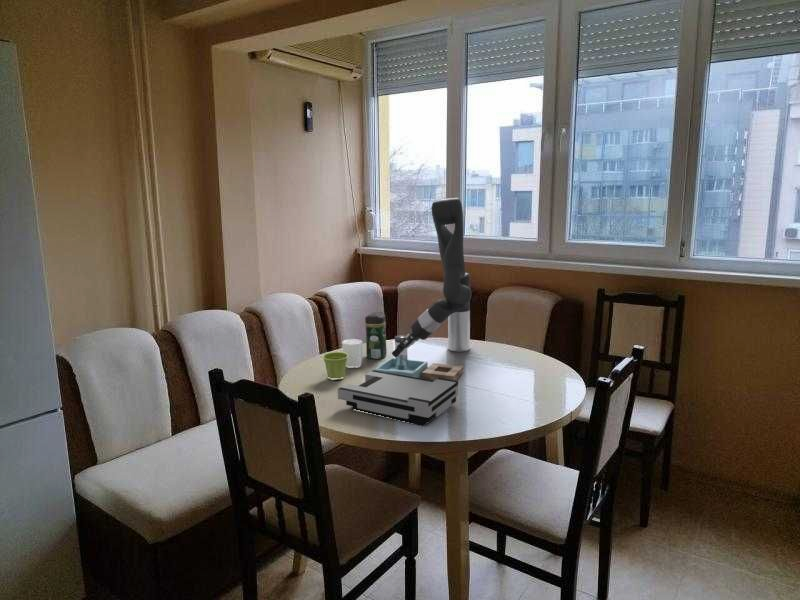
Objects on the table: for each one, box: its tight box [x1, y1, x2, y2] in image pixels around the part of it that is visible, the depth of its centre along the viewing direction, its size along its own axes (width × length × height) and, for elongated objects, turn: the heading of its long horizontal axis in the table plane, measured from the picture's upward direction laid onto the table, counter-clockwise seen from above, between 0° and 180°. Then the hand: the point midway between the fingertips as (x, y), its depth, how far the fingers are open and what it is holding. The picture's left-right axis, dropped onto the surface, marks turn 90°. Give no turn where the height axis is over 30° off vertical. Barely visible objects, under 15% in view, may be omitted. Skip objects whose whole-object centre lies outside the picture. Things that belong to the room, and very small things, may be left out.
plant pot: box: [322, 351, 348, 378], centre depth 202 cm, size 9×9×9 cm
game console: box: [337, 370, 459, 427], centre depth 174 cm, size 21×32×8 cm, turn 60°
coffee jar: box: [364, 311, 388, 359], centre depth 227 cm, size 10×8×19 cm
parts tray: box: [374, 357, 429, 378], centre depth 204 cm, size 15×15×4 cm
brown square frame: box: [421, 362, 464, 381], centre depth 203 cm, size 12×12×2 cm
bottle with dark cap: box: [394, 335, 409, 370], centre depth 203 cm, size 5×5×12 cm
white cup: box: [341, 338, 363, 366], centre depth 216 cm, size 8×8×10 cm
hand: (396, 353), depth 203 cm, fingers closed on bottle with dark cap, 4 cm apart
